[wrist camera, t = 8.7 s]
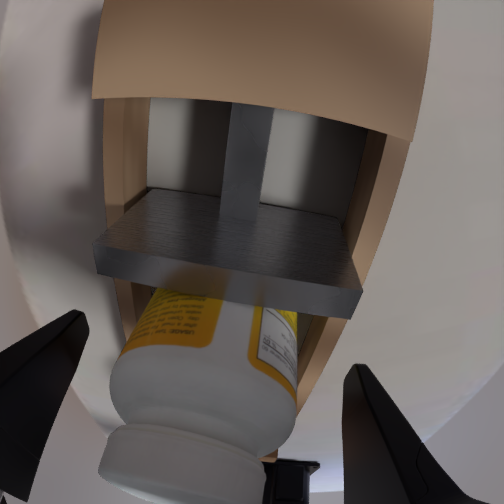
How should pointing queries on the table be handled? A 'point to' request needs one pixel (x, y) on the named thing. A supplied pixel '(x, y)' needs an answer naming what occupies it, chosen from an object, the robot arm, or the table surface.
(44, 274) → the table surface
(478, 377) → the table surface
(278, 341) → the supplement bottle
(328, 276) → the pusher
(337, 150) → the table surface
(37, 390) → the robot arm
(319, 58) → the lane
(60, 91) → the table surface
